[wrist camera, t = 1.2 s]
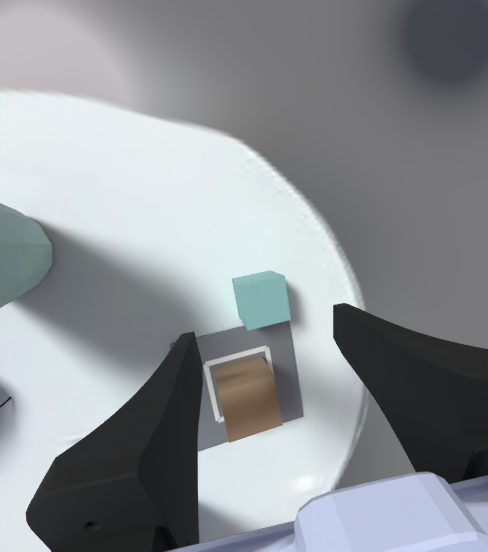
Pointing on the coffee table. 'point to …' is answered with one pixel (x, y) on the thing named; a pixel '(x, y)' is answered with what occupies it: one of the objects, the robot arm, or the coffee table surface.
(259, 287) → the teal cube
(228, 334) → the mat
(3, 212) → the disposable coffee cup
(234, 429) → the walnut block
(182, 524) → the robot arm
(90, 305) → the coffee table surface
